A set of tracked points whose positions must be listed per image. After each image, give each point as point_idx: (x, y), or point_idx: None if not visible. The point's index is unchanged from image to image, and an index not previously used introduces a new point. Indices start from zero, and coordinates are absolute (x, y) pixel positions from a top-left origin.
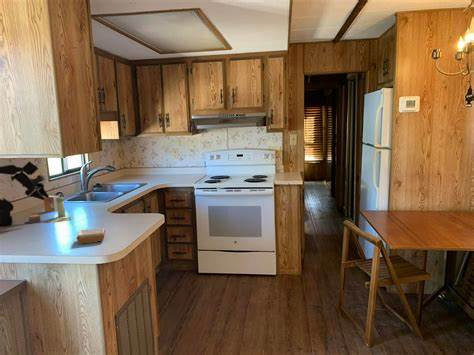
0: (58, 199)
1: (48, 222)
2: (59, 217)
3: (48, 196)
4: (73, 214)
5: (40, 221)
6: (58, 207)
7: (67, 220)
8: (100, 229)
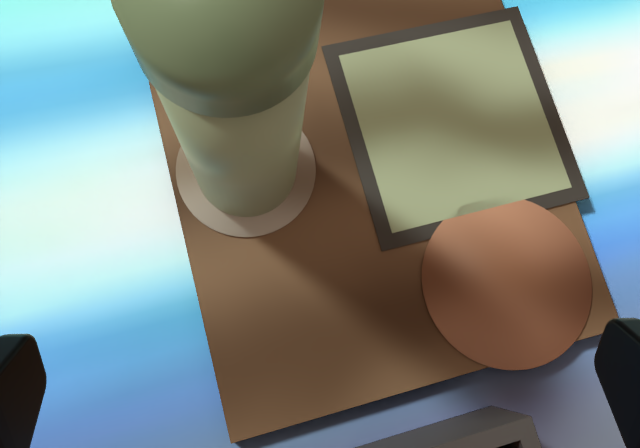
0: (321, 13)
1: (571, 270)
2: (293, 190)
3: (36, 346)
4: (80, 53)
5: (500, 409)
6: (299, 130)
7: (519, 44)
8: None
